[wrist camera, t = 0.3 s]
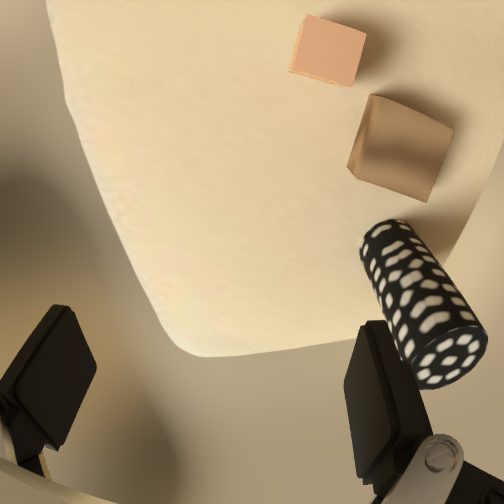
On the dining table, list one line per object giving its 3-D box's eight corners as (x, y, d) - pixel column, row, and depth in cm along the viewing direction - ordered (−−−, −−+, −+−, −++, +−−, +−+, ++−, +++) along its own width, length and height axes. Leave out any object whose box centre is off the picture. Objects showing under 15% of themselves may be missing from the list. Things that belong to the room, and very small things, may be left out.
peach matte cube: (299, 27, 28) (306, 14, 22) (348, 42, 28) (366, 33, 22) (287, 71, 30) (292, 68, 24) (336, 86, 31) (352, 87, 25)
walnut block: (368, 94, 31) (383, 96, 27) (433, 122, 32) (453, 129, 27) (346, 166, 35) (356, 178, 31) (410, 188, 36) (426, 203, 32)
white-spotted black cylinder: (350, 268, 42) (390, 390, 25) (371, 213, 38) (437, 321, 21) (402, 278, 42) (456, 389, 25) (425, 227, 38) (503, 328, 21)
